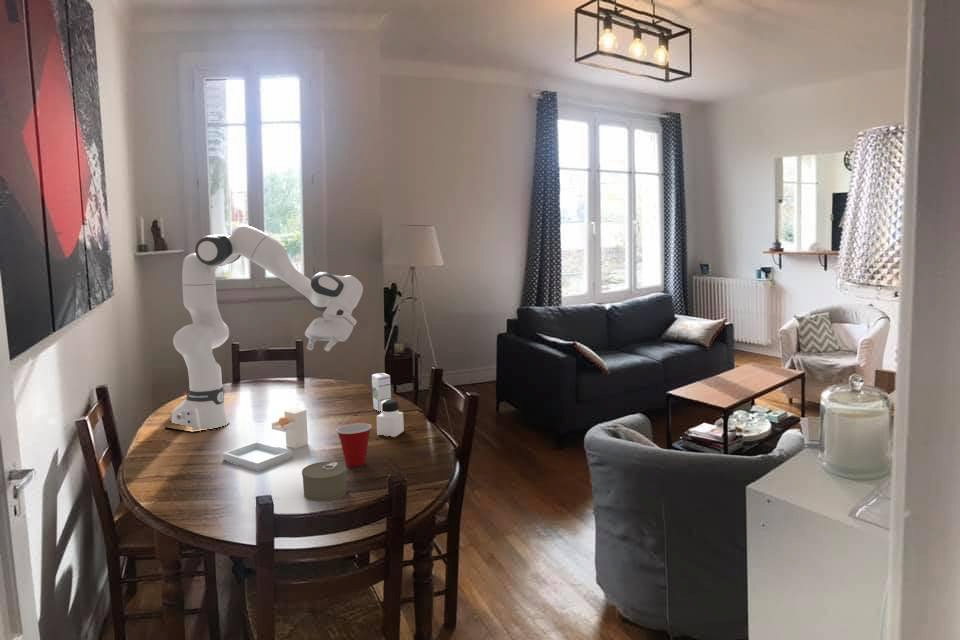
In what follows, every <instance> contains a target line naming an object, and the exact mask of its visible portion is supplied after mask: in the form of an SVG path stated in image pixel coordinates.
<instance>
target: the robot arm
mask: <svg viewBox="0 0 960 640" xmlns="http://www.w3.org/2000/svg"><path fill="white" fill-rule="evenodd" d="M241 256H242V257H244V258H246V259H248V260H249V261H251V262H252V263H253V264H256V265H258V266H259V267H261V268H262V269H263V270H266V271H267V272H268V273H270V274H272V275H273V276H275V277H276V278H278V279H279V280H281V281H282V282H283V283H285V285H286V286H289V287H290V288H291V289H293V290H294V291H296V292H297V293H299V294H300V295H301V296H302V297H303V298H304V299H306V301H307V302H308V303H309V305H310V306H311V307H312V308H313V309H315V310H317V311H320V312H323V314H322V316H318V317H317V318H314V319H313V320H312V321H311V323H310V324H309V325H308V327H306V330H305V331H304V336H305V337H307V338H308V343H307V346H306V349H308V351H313V350H314V348H315V343H316V342H317V341H325V342H327V341H329V342H328V343H327V344H325V345H324V347H323V350H324V351H326V352H330V351H331V349H332V348H333V347H334V346H335V345H336V344H337V343H338V342H346V341H347V340H348V339H349V337H350V335H351V334H352V332H353V329H354V326H356V324H357V323H358V321H357V320H356V319H355V317H353V315H352V313H353V310H354V309H355V308H356V307H357V305H358V303H359V302H360V300H361V297H362V295H363V291H364V286H363V284H362V282H361V280H359V279H358V278H357V277H355V276H353V275H349V274H347V275H337V274H332V273H330V272H328V271H319V272H318V273H316V274H314V275H313V276H312V277H311V279H310V278H308V277H307V276H306V275H304V274H303V273H302V272H301V271H300V272H299V270H297V268H295V266H294V265H293V264H292V262H291V259H290V258H289V255H288V252H287V249H286V248H285V246H284V245H283V244H282V243H280V242H279V241H278V240H277V239H275V238H274V237H273V236H271V235H269V234H267V233H266V232H264V231H262V230H260V229H258V228H255V227H253V226H249V225H248V224H241V225H239V226H237V227H236V228H235V229H234V230H233V231H232V233H231V234H229V233H226V234H225V233H215V234H209V235H205V236H203V237H201V238H200V239H199V240H198V241H197V243H196V244H195V248H194V252H192V253H190V254H188V255H187V256H185V257H184V258H183V264H182V271H181V272H182V274H181V275H182V276H181V277H182V278H181V282H182V283H181V285H182V301H183V306H184V308H185V309H186V310H187V311H188V312H189V314H190V316H191V320H192V323H190V324H187V325H184V326H183V327H182V328H180V329H179V330H177V331H176V332H175V333H174V335H173V339H172V343H173V346H174V349H175V350H176V351H177V352H178V353H179V354H180V355H181V356H182V357H183V360H184V362H185V364H186V367H187V373H188V382H189V383H188V384H189V389H188V390H185V391H184V392H183V396H185V395H186V398H185V399H184V401H181V403H180V404H179V405H178V406H176V407H175V408H174V409H173V411H172V412H171V421H172V423H175V424H180V425H185V426H189V427H192V428H194V429H192V430H199V429H210V428H218V427H221V428H223V427H222V426H224V427H226V426H228V425H229V424H230V421H229V417H228V415H227V410H226V405H225V402H224V401H225V389H224V386H223V382H222V381H223V380H222V379H223V378H222V367H221V365H220V364H219V363H218V362H217V361H216V359H215V357H214V353H213V350H214V349H216V348H219V347H221V346H222V345H223V344H224V343H225V342H226V341H227V340H228V339H229V337H230V329H229V326H228V325H227V324H226V322H224V321H223V319H222V316H221V312H220V310H219V306H218V299H217V287H216V283H217V282H216V271H217V269H218V267H219V266H220V267H223V266H226V265H230V264H233V263H234V262H236V261H237V260H239V259H240V258H241ZM228 423H229V424H228ZM227 424H228V425H227ZM225 425H226V426H225ZM218 429H219V428H218Z"/></svg>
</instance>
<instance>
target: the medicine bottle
mask: <svg viewBox="0 0 960 640" xmlns="http://www.w3.org/2000/svg"><path fill="white" fill-rule="evenodd" d="M404 425H405V424H404V412H403V411H399V401H398V400H396V399H392V398H391V399H388V400H384V401H382V402H381V412H380V414H378V415H376V435H377V436H379V435H384V436H383V437H388V436H391V438H396V437H397V436H399V435H400V434H402V433H403V432H404V431H405V430H404V428H405V427H404Z"/></svg>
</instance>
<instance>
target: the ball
mask: <svg viewBox="0 0 960 640" xmlns="http://www.w3.org/2000/svg"><path fill="white" fill-rule="evenodd" d="M278 421H279V425H281V426H284V425H287V424H288V423H289V420H288V418H287V417H285V416H281V417H280V418H279V419H278Z"/></svg>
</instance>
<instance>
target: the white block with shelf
mask: <svg viewBox="0 0 960 640" xmlns="http://www.w3.org/2000/svg"><path fill="white" fill-rule="evenodd" d="M307 415H308V413H307V409H303V408H299V407H294V408H291V409H287V410H285V411H284V417H287V418H288V420H289V423H288V424H287V425H284V426H281V425H279V420H277V421H274V422H271V429H272V430H275V431H279V432H283V433H285V444H286V447H290V448H293V449H296V448H297V449H299V448H302V447H305V446H306V445H309V435H308V434H309V433H308V419H307V418H308V416H307Z"/></svg>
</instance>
